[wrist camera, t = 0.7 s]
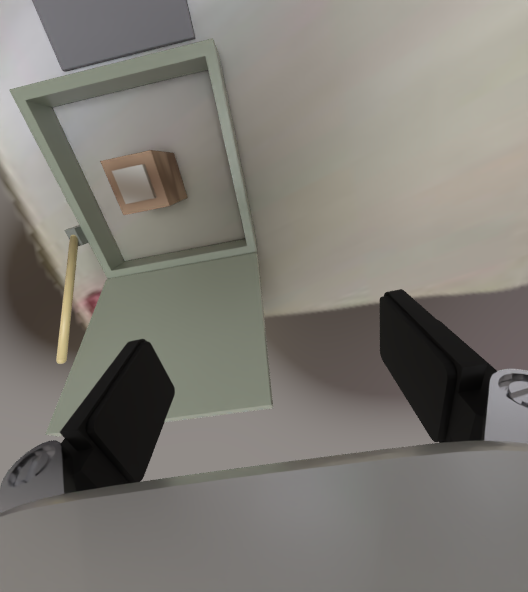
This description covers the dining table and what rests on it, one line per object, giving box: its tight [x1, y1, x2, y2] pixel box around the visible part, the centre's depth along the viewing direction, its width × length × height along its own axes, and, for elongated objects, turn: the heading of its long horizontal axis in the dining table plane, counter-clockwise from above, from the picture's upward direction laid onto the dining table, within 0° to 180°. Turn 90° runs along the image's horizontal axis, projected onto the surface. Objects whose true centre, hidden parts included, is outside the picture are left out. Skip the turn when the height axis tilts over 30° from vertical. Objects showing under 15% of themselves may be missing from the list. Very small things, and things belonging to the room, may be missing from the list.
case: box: [10, 38, 273, 436], centre depth 24 cm, size 29×21×20 cm
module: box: [100, 150, 187, 215], centre depth 27 cm, size 5×5×8 cm
